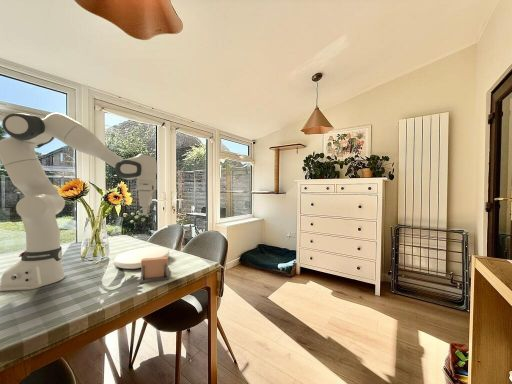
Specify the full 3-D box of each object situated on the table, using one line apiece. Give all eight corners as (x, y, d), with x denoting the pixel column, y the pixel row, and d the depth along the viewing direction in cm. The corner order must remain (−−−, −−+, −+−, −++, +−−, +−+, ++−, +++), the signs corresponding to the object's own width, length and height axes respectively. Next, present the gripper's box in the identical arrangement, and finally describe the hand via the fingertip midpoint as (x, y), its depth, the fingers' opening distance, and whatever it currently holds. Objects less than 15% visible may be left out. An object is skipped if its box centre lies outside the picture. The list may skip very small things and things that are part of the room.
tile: (141, 278, 102) (141, 260, 102) (142, 276, 105) (142, 258, 104) (167, 275, 105) (167, 258, 105) (167, 273, 108) (167, 256, 108)
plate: (131, 265, 108) (103, 256, 122) (133, 278, 109) (104, 268, 123) (178, 246, 132) (150, 240, 146) (179, 257, 133) (151, 250, 146)
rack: (139, 283, 99) (139, 267, 99) (143, 272, 112) (143, 258, 111) (168, 279, 104) (168, 264, 103) (169, 269, 116) (169, 255, 116)
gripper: (142, 186, 124) (142, 211, 124) (136, 186, 104) (135, 216, 104) (155, 186, 126) (155, 211, 126) (151, 186, 106) (150, 216, 107)
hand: (146, 213), depth 115 cm, fingers open, 8 cm apart
